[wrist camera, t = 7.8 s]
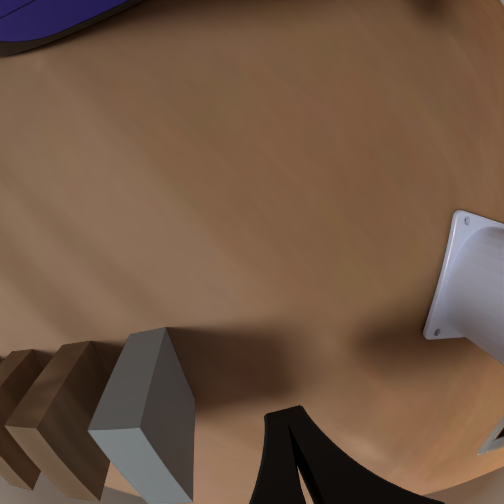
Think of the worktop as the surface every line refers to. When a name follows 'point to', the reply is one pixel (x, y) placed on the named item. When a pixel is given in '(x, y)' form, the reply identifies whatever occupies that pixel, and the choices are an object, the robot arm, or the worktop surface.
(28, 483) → the domino
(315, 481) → the robot arm
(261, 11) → the worktop surface
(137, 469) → the slate domino
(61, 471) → the domino
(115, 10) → the dark grey curved shell
